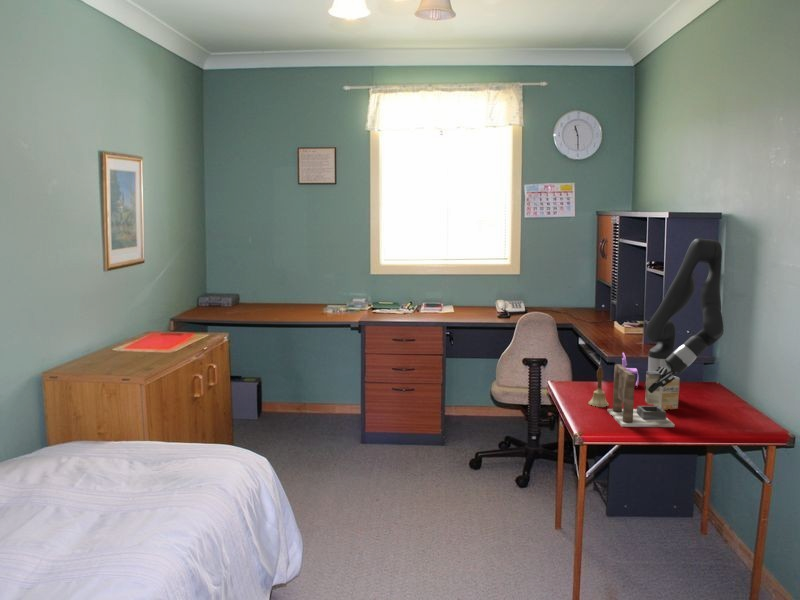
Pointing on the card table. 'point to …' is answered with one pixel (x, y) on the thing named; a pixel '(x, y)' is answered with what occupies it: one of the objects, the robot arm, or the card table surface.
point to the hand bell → (599, 392)
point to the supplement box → (669, 395)
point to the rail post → (650, 379)
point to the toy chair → (632, 370)
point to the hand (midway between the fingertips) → (647, 389)
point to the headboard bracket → (628, 415)
